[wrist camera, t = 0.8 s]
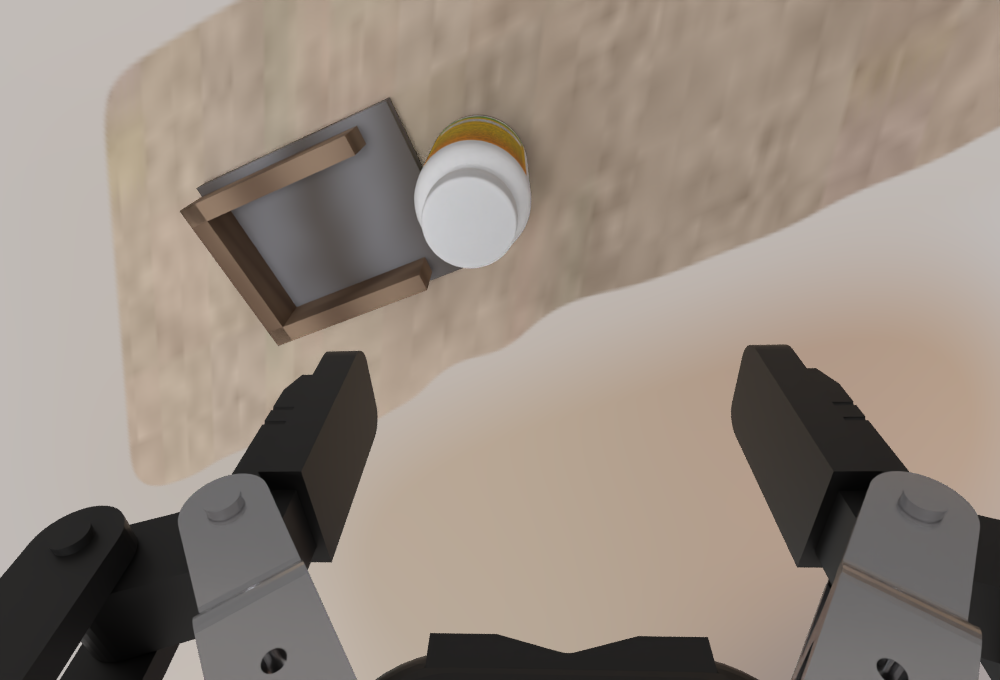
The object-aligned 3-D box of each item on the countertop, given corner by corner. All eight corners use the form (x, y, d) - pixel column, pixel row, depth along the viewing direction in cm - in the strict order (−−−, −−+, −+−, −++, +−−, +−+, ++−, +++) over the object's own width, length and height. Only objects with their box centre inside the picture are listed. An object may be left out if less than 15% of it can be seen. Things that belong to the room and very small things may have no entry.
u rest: (389, 97, 29) (375, 108, 26) (467, 260, 34) (462, 285, 31) (204, 183, 32) (173, 202, 29) (301, 323, 36) (283, 352, 33)
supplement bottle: (418, 127, 30) (384, 175, 22) (515, 102, 29) (518, 143, 21) (446, 220, 33) (425, 295, 24) (536, 199, 32) (545, 270, 24)
